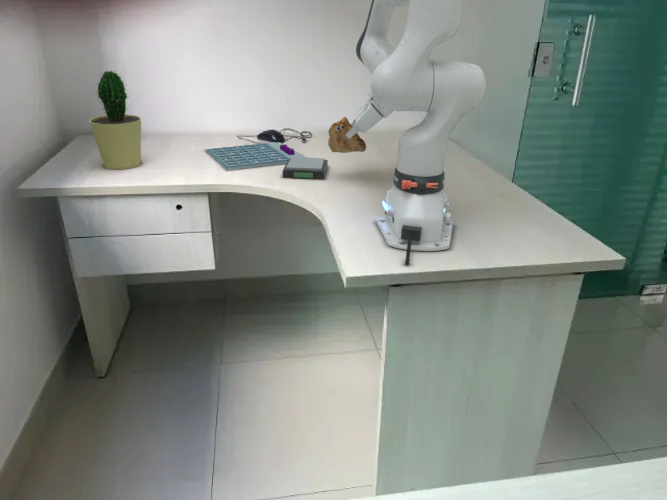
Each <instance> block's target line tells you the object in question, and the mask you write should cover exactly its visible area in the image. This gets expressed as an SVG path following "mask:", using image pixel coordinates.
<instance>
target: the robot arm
mask: <svg viewBox="0 0 667 500" xmlns="http://www.w3.org/2000/svg"><path fill="white" fill-rule="evenodd" d="M463 5H464V0H371V3H370V7H369V11H368V15H367V19H366V23H365V26H364V29H363V31H362V33H361V35H360V37H359V39H358V41H357V43H356V47H355V52H356V53H355V54H356V57H357V59H358V60H359V61H360V62H361V63H362V65H364V67H366V69H367V70H368V71H369V73H370V74H371V76H370V80H369V92H368V94H367V96H368V99H367V100H366V103H364V105H363V106H362V107H360V109H358V111H357V112H356V115H355V118H354V119H353V121H352V122H351V123H350V124H351V126H353V127H352V128H351V129H350V130H349V131H348V132H347V133H346V136H347V137H348V138H351V137H352V136H353V135H355V134H356V133H357V134H359V132H360V133H361V134H364V133H366V132H367V131H369V130H370V129H372V128H373V127H374V126H375V125H377V124H379V122H380V121H382V120H383V119H386V118H388V117H389V116H390V115H392V114H393V112H395V111H396V112H425V113H426V114H425V116H424V117H423V119H422V120H421V121H420V122H419V123H417V124H415V125H414V126H411V127H410V128H408V129H406V130H405V131H404V132H403V133H402V134H401V135H400V137H399V139H398V146H397V160H396V167H395V168H394V173H393V185H392V187H390V188H389V189H388V190H386V197H385V201H384V200H382V206H383V208H384V216H380V217H378V218H377V219H376V225H377V226H378V228H379V230H380V232H381V234H382V236H383V238H384V240H385V242H386V244H387V245H388V246H389V247H391V248H395V249H400V250H406V255H405V261H404V264H405V265H409V263H410V257H411V251H416V252H417V251H419V252H438V251H445V250H448V249H450V247H451V240H452V235H453V233H452V232H453V225H454V223H453V221H451V220H452V212H446V210H447V209H450V202H447V201H448V193H447V191H445V190H444V188H445V180H446V177H445V176H446V175H445V174H446V173H445V170H444V167H445V160H446V155H447V149H448V144H449V141H450V138H451V136H452V133H453V131H454V130H455V127H457V125H458V124H459V122H460V121H461V120H462V119H463V118H464V117H465V116H466V115H467V114H468V113H470V112H472V111H473V110H474V109H476V108H477V107H478V106H479V105H480V103H481V102H482V101H483V99H484V97H485V94H486V92H487V91H486V90H487V79H486V75H485V73H484V71H483V69H482V68H481V67H480V65H478V64H476V63H475V64H474V63H470V62H465V61H461V60H443V59H442V60H441V59H440V60H439V59H438V60H433V59H430V55H431V53H432V52H433V50H434V48H436V47H437V46H438V45H440V44H443V43H444V42H447V41H448V40H450V39H452V38H453V37H454V36H455V35H456V34H457V32H458V31H459V29H460V27H461V23H462V13H463ZM395 7H397V8H398V7H403V8H404V7H408V10H407V17H406V23H405V28H404V31H403V34H402V36H401V39H400V41H399V43H398V44H397V46H396V45H395V44H394V43H393V42H392V41H391V38H390V36H389V31H388V30H389V26H390V22H391V19H392V15H393V13H394V9H395Z"/></svg>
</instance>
